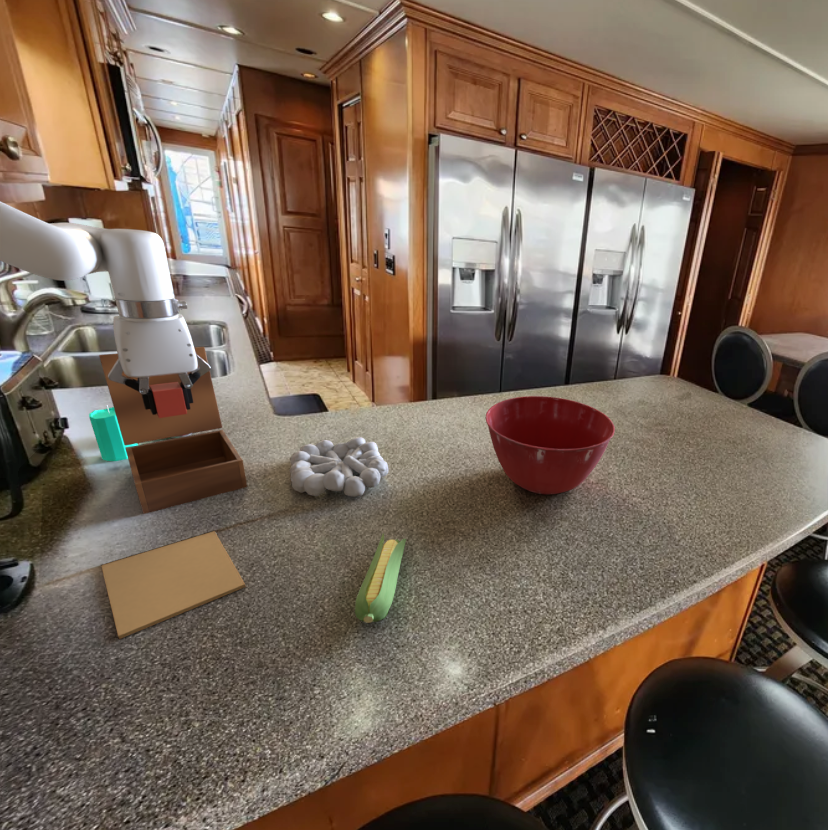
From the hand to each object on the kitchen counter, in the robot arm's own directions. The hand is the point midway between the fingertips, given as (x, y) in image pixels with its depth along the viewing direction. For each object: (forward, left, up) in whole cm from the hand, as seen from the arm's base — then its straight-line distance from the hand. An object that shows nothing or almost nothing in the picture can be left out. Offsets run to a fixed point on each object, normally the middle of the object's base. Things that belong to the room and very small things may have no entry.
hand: (170, 408), depth 83 cm
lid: (-9, +6, -1) cm, 11 cm away
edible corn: (+49, -8, -17) cm, 53 cm away
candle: (-22, +3, -17) cm, 28 cm away
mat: (+19, -18, -17) cm, 31 cm away
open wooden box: (-1, +1, -17) cm, 17 cm away
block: (0, 0, -1) cm, 1 cm away
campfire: (+22, +15, -17) cm, 32 cm away
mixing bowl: (+63, +33, -17) cm, 73 cm away
